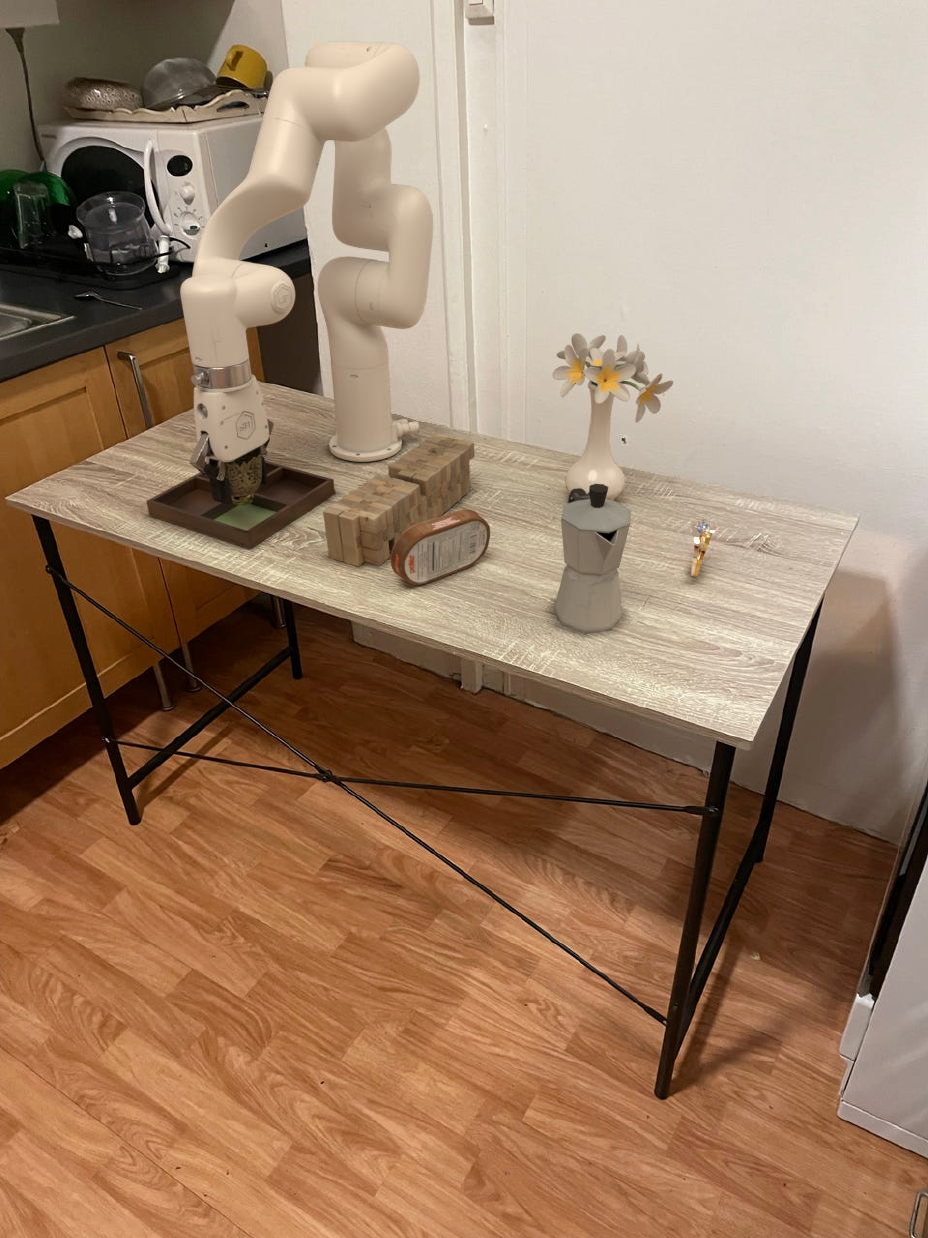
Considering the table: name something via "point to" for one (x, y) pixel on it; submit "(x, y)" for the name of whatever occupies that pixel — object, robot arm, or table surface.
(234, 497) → the cup
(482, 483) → the table surface
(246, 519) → the grid
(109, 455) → the table surface
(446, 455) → the block tower
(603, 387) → the flower vase
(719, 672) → the table surface
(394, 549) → the tin
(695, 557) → the ring
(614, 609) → the coffee maker
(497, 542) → the table surface
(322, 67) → the robot arm
